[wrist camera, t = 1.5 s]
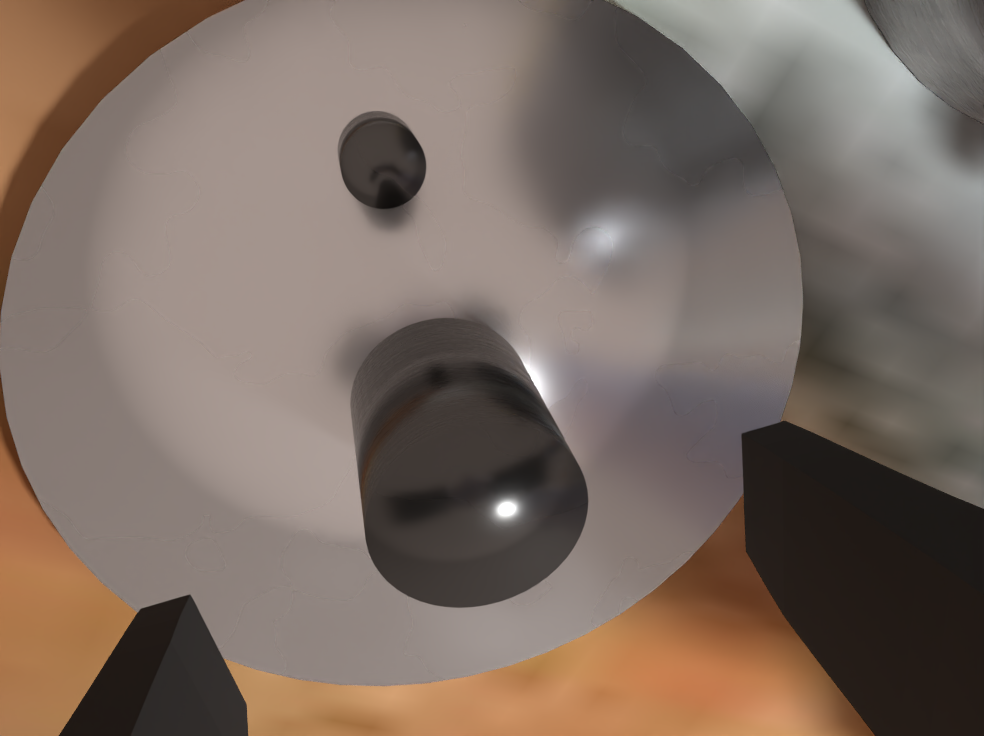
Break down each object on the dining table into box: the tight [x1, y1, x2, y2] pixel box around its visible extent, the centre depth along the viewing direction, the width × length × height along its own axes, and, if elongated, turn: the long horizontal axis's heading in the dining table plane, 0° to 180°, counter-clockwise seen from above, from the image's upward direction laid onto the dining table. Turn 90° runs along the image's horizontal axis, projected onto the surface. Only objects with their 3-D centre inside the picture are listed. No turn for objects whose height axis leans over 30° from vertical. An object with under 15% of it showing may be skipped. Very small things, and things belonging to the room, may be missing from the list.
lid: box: [0, 0, 803, 686], centre depth 13 cm, size 14×14×4 cm
